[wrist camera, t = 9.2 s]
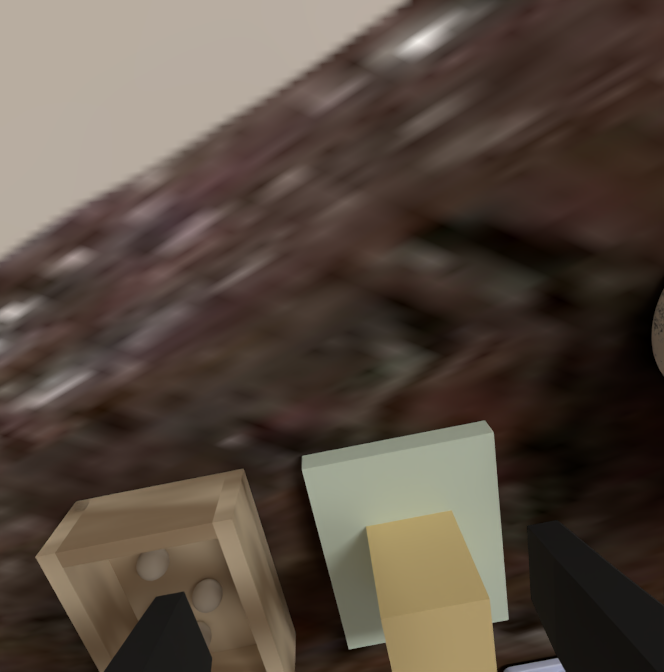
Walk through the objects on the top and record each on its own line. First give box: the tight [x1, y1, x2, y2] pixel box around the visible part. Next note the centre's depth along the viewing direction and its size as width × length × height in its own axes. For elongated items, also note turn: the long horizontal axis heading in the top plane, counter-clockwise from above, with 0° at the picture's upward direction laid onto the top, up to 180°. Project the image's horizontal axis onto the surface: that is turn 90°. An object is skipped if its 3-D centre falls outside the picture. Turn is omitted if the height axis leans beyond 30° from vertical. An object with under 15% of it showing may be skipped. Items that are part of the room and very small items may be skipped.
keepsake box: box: [36, 469, 296, 672], centre depth 21 cm, size 11×8×3 cm
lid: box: [302, 420, 509, 672], centre depth 19 cm, size 11×8×6 cm
